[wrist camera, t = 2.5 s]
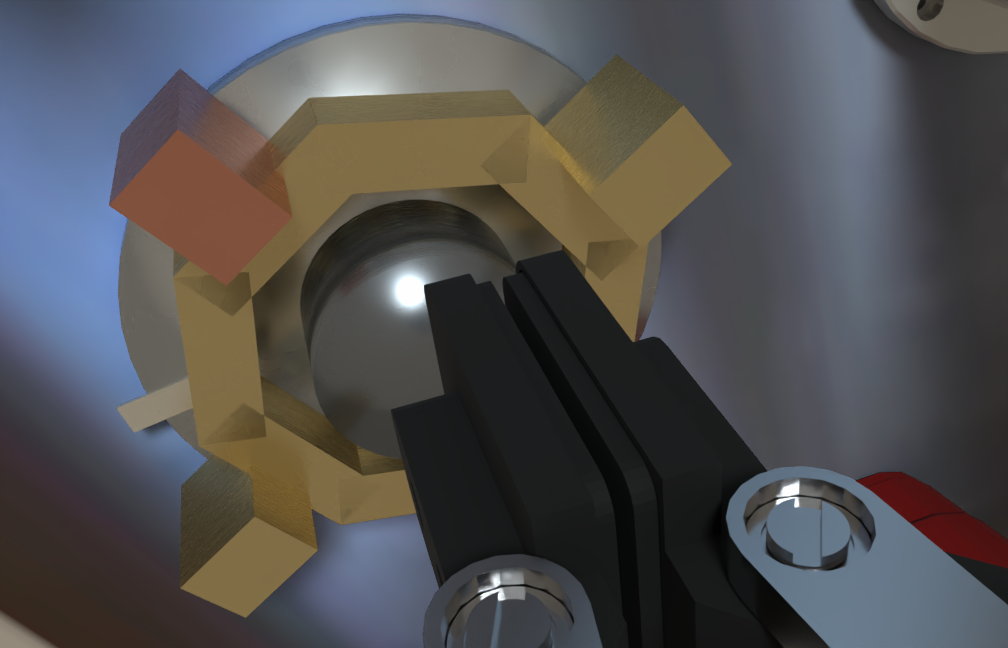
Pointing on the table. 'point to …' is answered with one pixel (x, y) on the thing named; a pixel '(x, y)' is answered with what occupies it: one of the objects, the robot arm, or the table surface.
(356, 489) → the locking ring
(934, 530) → the plastic cup
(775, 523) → the robot arm
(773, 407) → the table surface
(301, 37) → the flange
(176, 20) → the table surface
